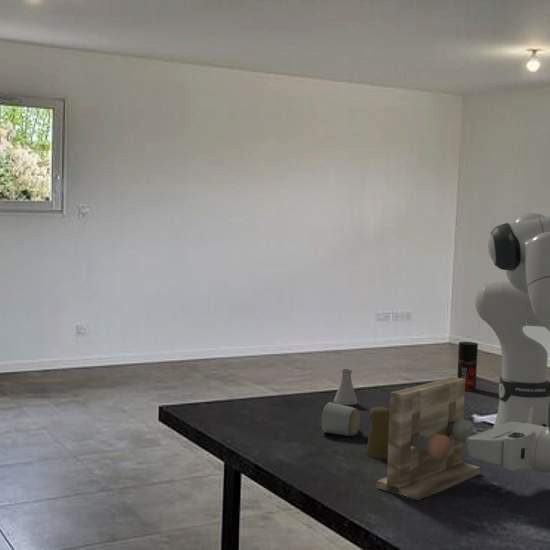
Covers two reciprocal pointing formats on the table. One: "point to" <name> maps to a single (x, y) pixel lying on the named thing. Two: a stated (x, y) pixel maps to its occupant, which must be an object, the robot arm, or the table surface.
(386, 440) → the cork
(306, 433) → the table surface
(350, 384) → the flask
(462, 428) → the button sage
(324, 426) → the ceramic mug
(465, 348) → the deodorant
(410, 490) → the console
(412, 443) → the button terracotta
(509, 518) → the table surface
